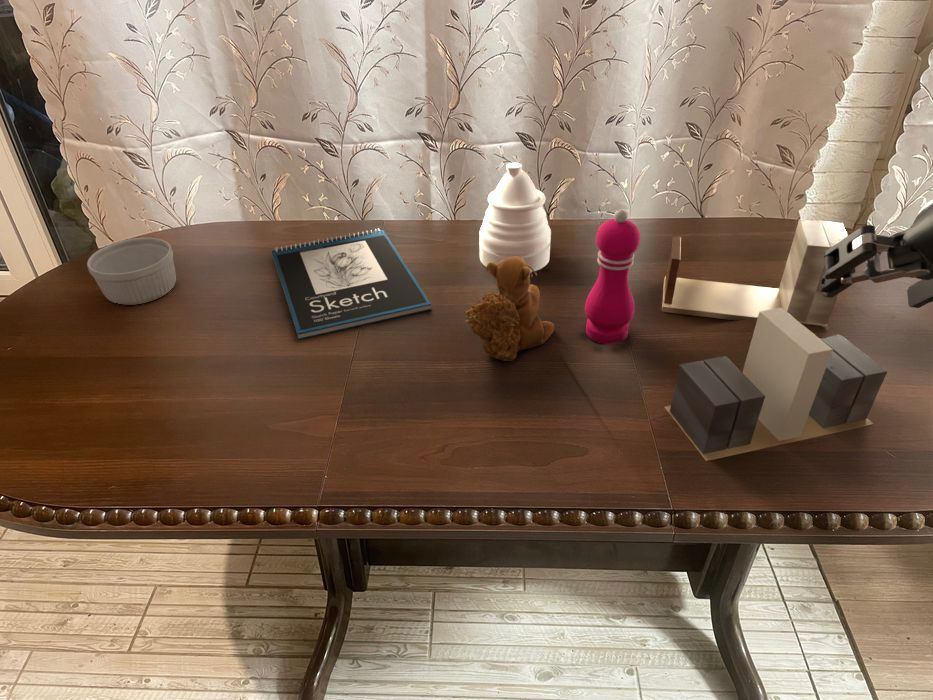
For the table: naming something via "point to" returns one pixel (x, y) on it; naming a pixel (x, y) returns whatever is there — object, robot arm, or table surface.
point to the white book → (785, 371)
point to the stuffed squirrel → (509, 312)
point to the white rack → (746, 301)
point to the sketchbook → (346, 283)
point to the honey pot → (515, 222)
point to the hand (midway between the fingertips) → (868, 293)
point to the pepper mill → (612, 281)
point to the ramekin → (134, 270)
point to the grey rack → (739, 401)
